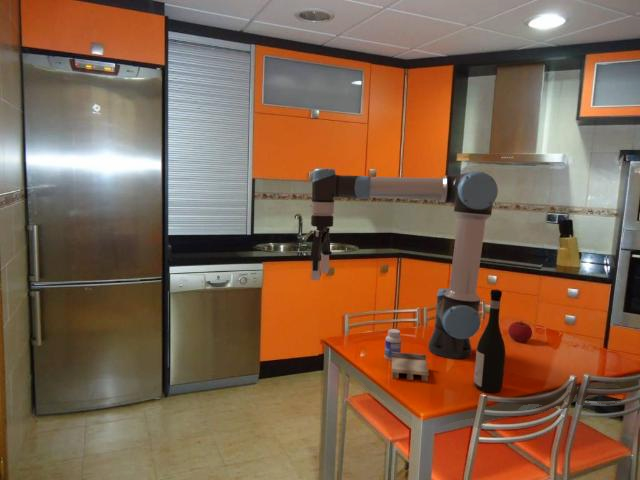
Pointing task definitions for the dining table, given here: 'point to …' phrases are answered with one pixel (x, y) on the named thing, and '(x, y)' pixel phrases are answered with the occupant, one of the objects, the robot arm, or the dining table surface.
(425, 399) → the dining table surface
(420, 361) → the dock
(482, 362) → the wine bottle
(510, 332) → the tomato
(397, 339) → the pill bottle
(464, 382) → the dining table surface
